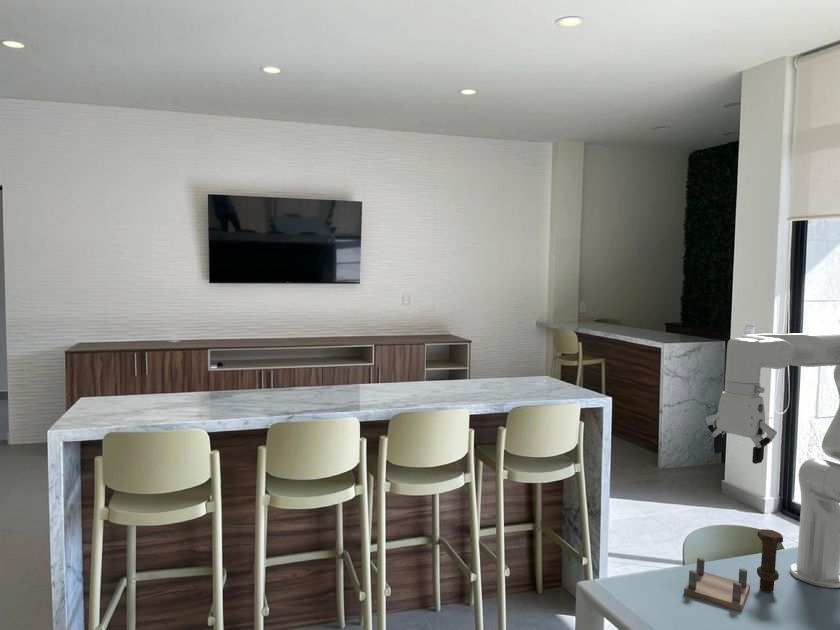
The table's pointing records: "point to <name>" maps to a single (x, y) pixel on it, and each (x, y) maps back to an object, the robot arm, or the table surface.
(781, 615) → the table surface
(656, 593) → the table surface
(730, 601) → the peg holder
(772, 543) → the bolt
